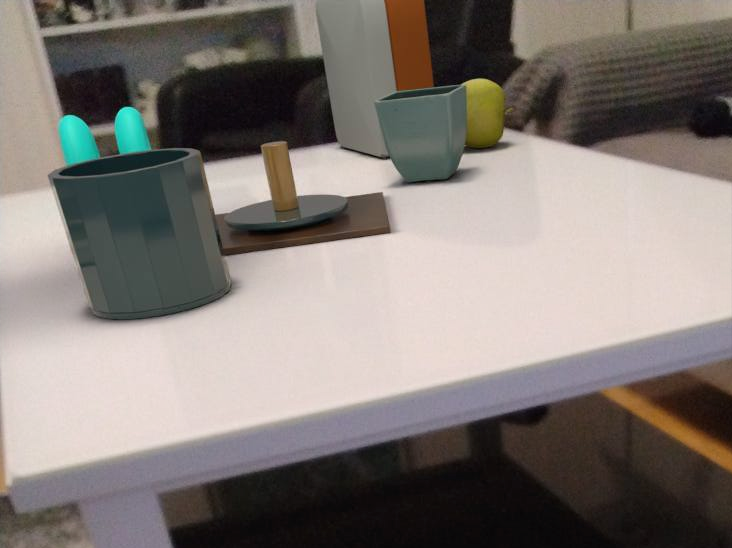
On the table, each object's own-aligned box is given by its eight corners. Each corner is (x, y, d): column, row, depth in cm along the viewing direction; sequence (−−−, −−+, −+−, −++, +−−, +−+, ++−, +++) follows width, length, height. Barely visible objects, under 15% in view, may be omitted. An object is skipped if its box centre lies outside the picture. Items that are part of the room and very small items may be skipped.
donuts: (84, 197, 134) (59, 113, 129) (161, 185, 136) (139, 101, 130) (79, 210, 126) (51, 121, 121) (160, 197, 128) (137, 109, 122)
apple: (517, 148, 130) (511, 77, 126) (446, 156, 131) (438, 86, 126) (515, 139, 137) (510, 71, 132) (448, 147, 137) (440, 80, 133)
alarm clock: (443, 148, 137) (422, -35, 125) (382, 160, 134) (355, -26, 122) (392, 137, 151) (369, -29, 139) (336, 147, 148) (308, -21, 137)
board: (181, 261, 97) (179, 254, 96) (202, 222, 112) (200, 216, 111) (390, 232, 97) (389, 225, 97) (383, 197, 112) (382, 191, 112)
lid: (221, 242, 99) (202, 162, 95) (232, 216, 109) (216, 143, 105) (350, 225, 99) (337, 144, 95) (349, 200, 110) (337, 127, 106)
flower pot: (405, 173, 124) (393, 90, 119) (475, 167, 122) (467, 83, 117) (385, 188, 117) (372, 101, 112) (459, 183, 115) (450, 93, 110)
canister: (78, 327, 81) (32, 185, 75) (105, 289, 90) (66, 160, 85) (224, 306, 81) (189, 164, 75) (236, 271, 91) (206, 142, 85)
